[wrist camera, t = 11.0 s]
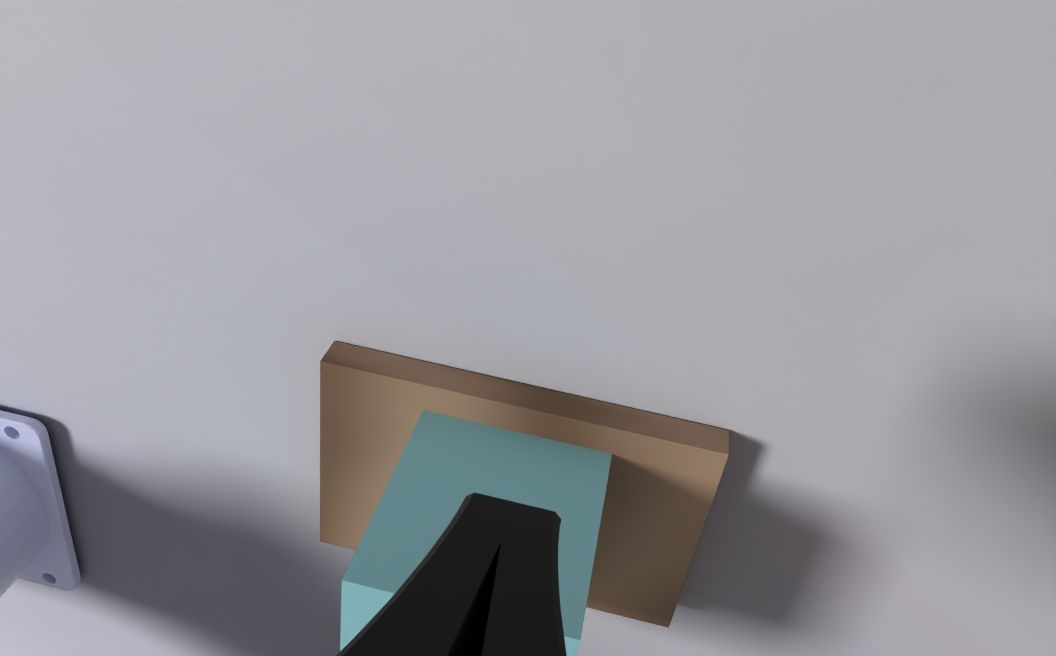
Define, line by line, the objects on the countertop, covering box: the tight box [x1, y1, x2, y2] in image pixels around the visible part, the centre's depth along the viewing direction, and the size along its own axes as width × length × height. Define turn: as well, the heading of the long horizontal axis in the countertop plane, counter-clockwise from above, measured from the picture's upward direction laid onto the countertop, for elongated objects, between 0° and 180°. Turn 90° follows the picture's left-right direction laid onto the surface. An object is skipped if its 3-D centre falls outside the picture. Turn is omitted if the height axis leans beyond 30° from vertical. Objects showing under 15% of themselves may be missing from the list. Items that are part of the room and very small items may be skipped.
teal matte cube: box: [340, 410, 612, 656], centre depth 22 cm, size 5×5×6 cm
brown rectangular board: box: [320, 341, 729, 627], centre depth 24 cm, size 11×7×5 cm, turn 82°
